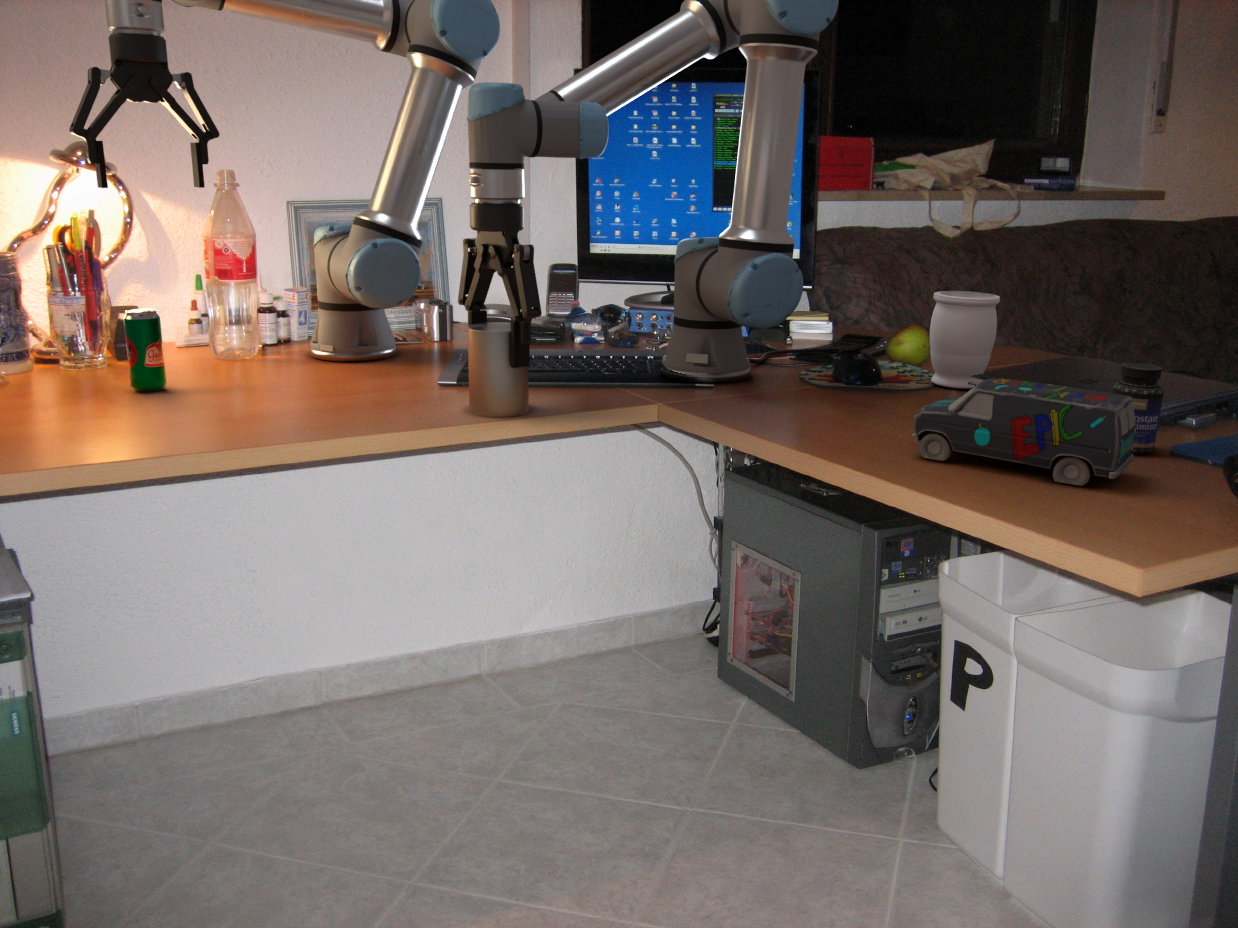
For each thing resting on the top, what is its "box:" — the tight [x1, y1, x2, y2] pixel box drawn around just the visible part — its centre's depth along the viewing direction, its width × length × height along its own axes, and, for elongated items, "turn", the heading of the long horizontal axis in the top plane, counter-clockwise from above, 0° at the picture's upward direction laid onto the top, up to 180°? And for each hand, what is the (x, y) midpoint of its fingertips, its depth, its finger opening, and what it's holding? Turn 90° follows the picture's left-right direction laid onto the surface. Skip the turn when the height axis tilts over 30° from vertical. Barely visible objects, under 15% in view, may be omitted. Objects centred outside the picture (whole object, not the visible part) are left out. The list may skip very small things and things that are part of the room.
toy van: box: [911, 377, 1136, 487], centre depth 131 cm, size 11×25×10 cm, turn 54°
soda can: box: [123, 308, 168, 392], centre depth 162 cm, size 5×5×12 cm
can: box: [467, 321, 530, 418], centre depth 154 cm, size 9×9×12 cm
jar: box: [929, 290, 1001, 390], centre depth 176 cm, size 11×10×15 cm
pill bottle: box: [1111, 362, 1165, 455], centre depth 139 cm, size 6×6×11 cm
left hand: (152, 188), depth 158 cm, fingers open, 13 cm apart
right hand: (498, 361), depth 154 cm, fingers open, 10 cm apart
